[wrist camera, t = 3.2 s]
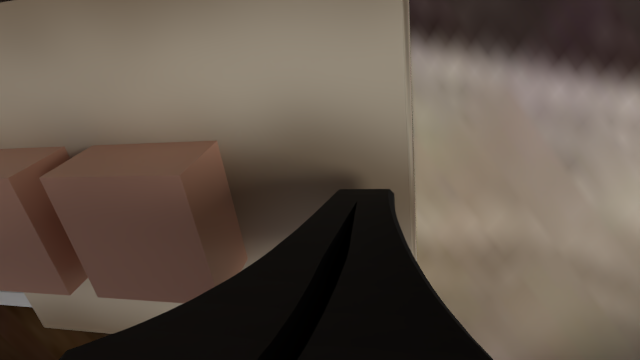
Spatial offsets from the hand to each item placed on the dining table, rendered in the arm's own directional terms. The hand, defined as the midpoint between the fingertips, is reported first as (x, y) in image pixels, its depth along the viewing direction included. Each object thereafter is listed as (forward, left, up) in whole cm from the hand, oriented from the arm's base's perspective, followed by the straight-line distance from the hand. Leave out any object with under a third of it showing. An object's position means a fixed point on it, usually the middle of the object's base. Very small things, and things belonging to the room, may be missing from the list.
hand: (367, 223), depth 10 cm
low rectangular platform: (0, +6, -4) cm, 8 cm away
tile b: (0, +11, -1) cm, 11 cm away
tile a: (0, +6, -1) cm, 6 cm away
